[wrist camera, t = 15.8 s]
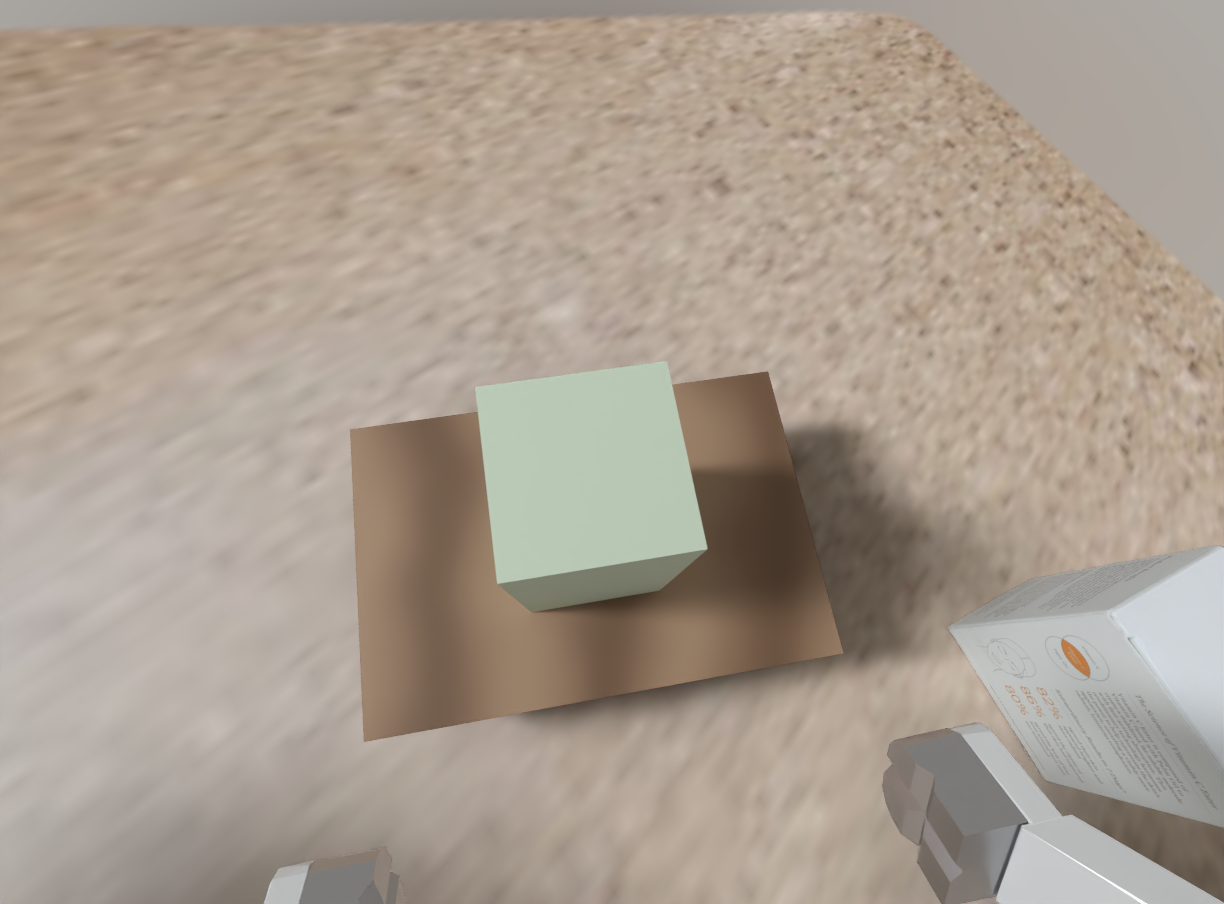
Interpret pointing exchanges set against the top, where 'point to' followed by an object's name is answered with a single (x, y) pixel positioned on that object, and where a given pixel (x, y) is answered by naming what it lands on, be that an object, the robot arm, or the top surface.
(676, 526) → the green block
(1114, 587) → the small box
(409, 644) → the stool
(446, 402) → the top surface
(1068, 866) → the robot arm
